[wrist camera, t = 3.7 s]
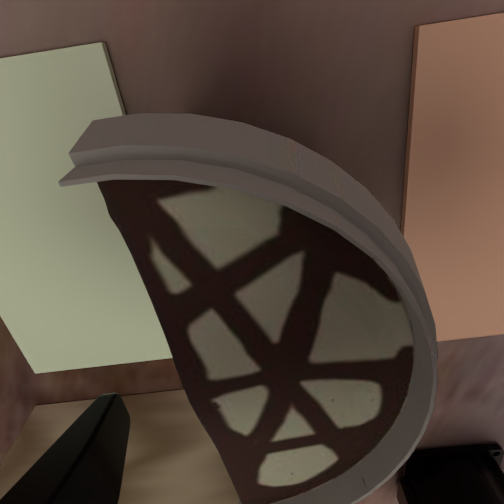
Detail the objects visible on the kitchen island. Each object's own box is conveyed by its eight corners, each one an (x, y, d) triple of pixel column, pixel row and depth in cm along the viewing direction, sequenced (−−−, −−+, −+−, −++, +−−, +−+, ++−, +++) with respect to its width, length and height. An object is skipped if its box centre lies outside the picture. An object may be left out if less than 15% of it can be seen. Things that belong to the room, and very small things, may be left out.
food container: (358, 307, 19) (453, 524, 10) (243, 328, 20) (243, 551, 11) (331, 42, 13) (499, 32, 5) (168, 83, 14) (39, 146, 5)
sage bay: (105, 42, 13) (101, 42, 13) (194, 350, 20) (193, 355, 20) (-132, 80, 14) (-142, 81, 13) (38, 368, 21) (35, 373, 20)
